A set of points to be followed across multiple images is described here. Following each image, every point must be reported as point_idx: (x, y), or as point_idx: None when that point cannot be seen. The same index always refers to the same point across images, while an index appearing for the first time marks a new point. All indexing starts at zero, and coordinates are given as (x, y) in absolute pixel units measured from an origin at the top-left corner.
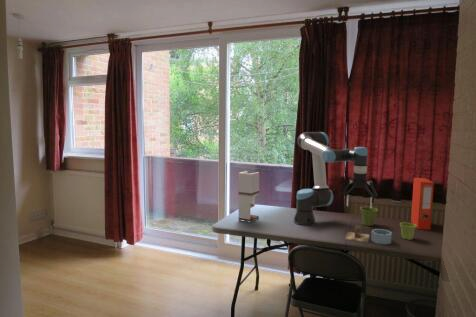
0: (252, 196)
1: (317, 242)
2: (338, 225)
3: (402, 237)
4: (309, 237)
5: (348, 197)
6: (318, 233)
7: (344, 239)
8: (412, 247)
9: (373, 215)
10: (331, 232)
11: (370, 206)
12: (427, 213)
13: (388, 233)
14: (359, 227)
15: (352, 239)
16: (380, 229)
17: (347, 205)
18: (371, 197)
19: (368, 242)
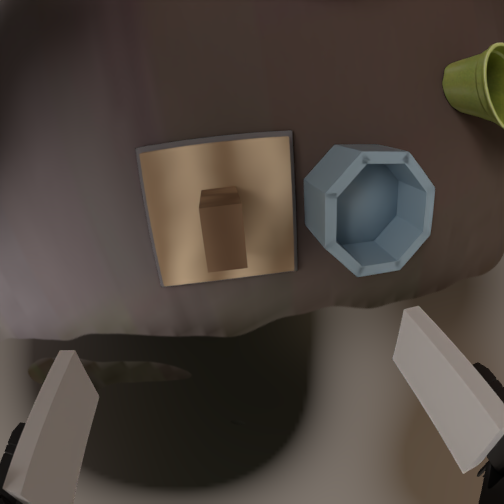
0: None
1: None
2: (54, 22)
3: (446, 95)
4: (22, 321)
5: (38, 466)
6: (14, 246)
7: (161, 285)
8: (466, 214)
9: None
10: (52, 187)
11: (408, 377)
12: None
13: (413, 182)
14: (237, 246)
15: (205, 280)
16: (378, 162)
17: (92, 406)
18: (492, 445)
19: (294, 264)
